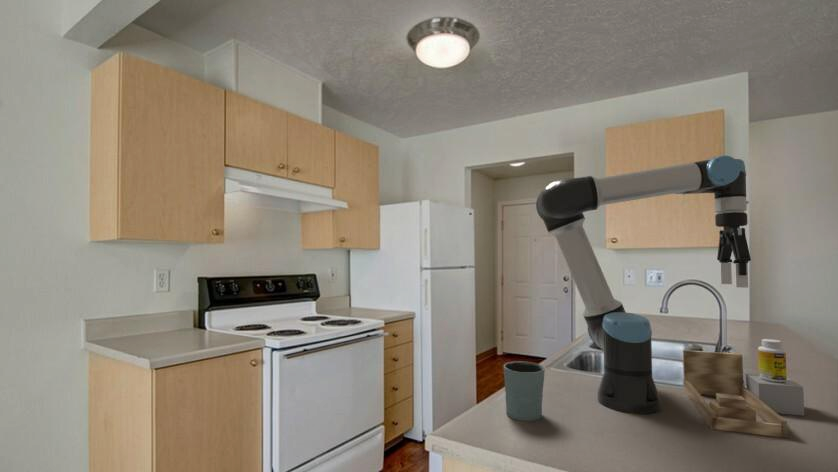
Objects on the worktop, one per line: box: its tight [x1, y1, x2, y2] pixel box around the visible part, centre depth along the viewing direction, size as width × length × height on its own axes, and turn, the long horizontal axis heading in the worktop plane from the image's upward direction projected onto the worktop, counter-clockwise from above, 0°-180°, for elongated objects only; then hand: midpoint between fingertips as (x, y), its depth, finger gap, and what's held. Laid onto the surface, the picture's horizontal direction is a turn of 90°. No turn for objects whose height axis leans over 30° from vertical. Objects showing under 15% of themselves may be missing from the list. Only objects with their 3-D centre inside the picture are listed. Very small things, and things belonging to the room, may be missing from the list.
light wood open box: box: [682, 349, 788, 439], centre depth 107 cm, size 14×28×12 cm, turn 159°
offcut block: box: [715, 393, 746, 409], centre depth 98 cm, size 5×3×2 cm, turn 65°
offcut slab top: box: [709, 401, 757, 421], centre depth 98 cm, size 8×4×2 cm, turn 77°
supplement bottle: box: [757, 338, 787, 382], centre depth 110 cm, size 6×6×10 cm
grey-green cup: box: [503, 360, 546, 422], centre depth 105 cm, size 10×10×12 cm
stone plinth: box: [745, 373, 805, 416], centre depth 109 cm, size 9×9×7 cm
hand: (733, 285), depth 122 cm, fingers open, 13 cm apart
